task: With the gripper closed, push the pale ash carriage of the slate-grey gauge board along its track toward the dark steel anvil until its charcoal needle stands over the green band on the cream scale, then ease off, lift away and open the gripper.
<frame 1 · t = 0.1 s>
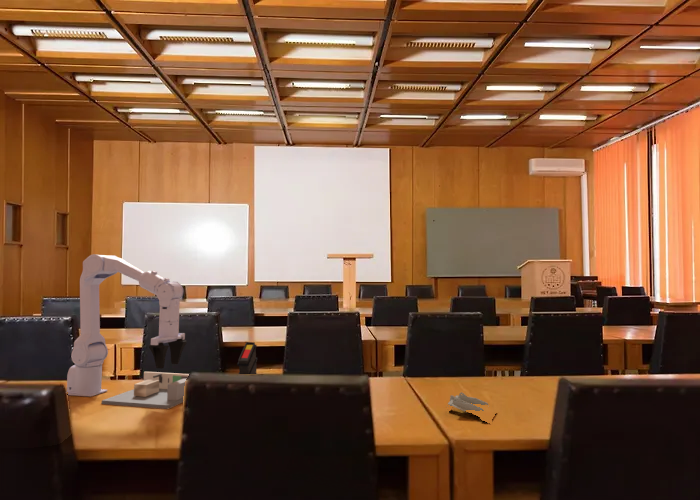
hand: (167, 366, 155), 10 cm above the table, fingers open, 7 cm apart
gauge board: (150, 397, 156), on the table
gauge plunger: (150, 384, 158), point 4 cm above the table, slide at 0.0 cm
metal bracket: (471, 416, 143), on the table
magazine: (247, 389, 171), on the table
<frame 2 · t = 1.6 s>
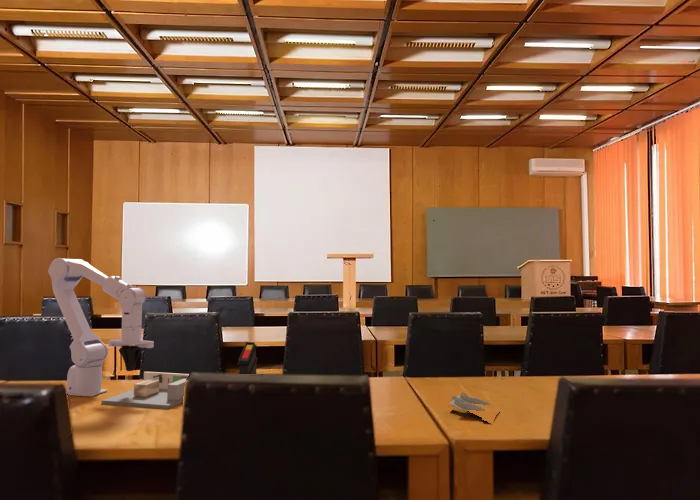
hand: (130, 370, 158), 8 cm above the table, fingers closed
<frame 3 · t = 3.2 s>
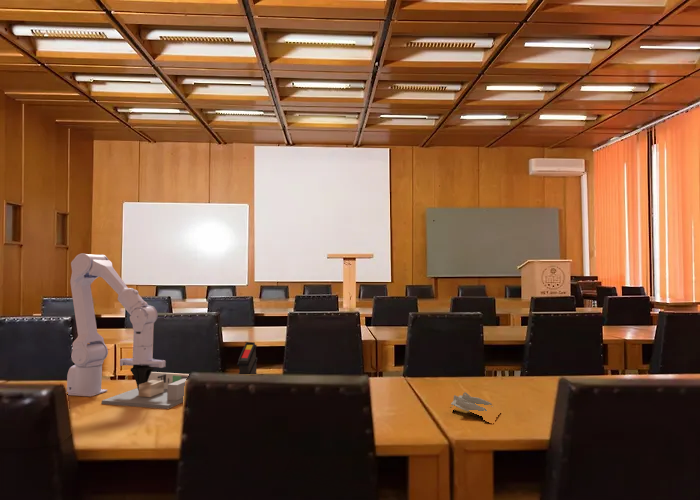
hand: (141, 389, 157), 2 cm above the table, fingers closed
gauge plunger: (155, 385, 158), point 4 cm above the table, slide at 1.6 cm, touching gripper
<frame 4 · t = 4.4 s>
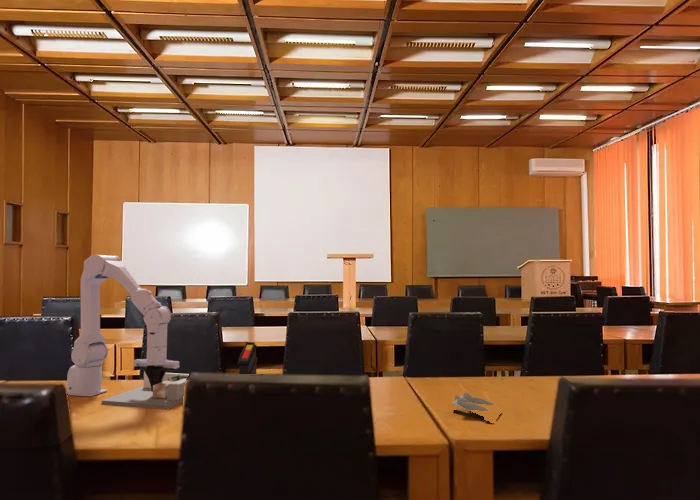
hand: (155, 390, 156), 2 cm above the table, fingers closed
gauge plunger: (169, 385, 157), point 4 cm above the table, slide at 6.3 cm, touching gripper
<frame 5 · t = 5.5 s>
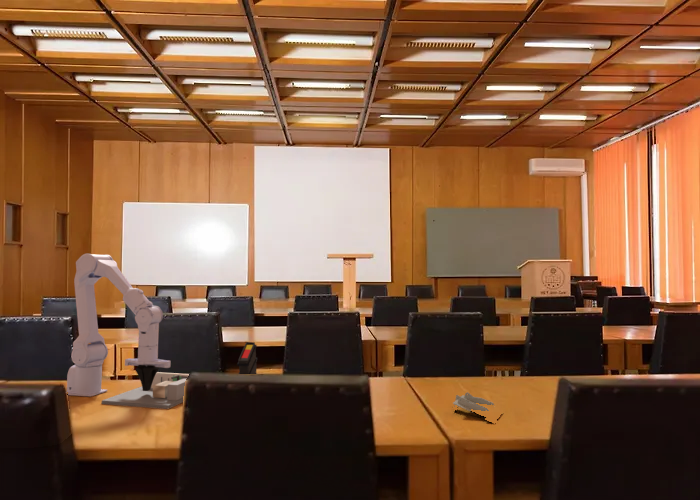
hand: (146, 390, 156), 2 cm above the table, fingers closed
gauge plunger: (169, 385, 157), point 4 cm above the table, slide at 6.3 cm
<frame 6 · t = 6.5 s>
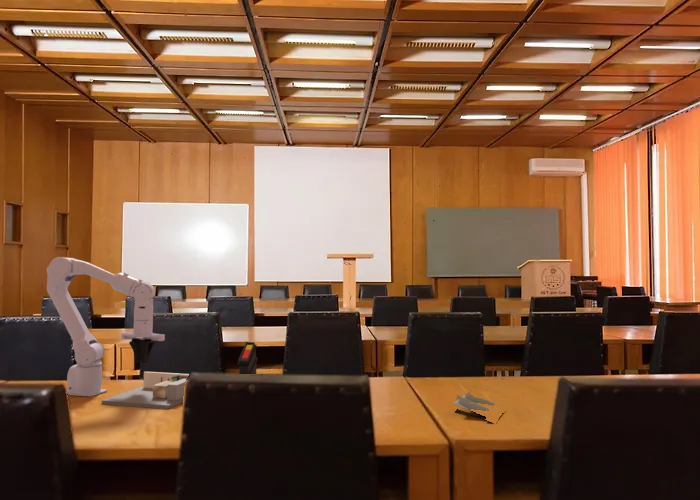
hand: (141, 362, 164), 9 cm above the table, fingers closed
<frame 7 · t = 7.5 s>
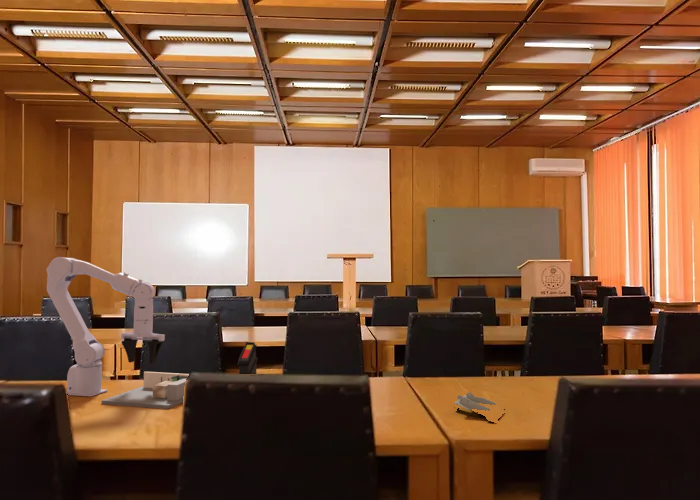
hand: (141, 362, 164), 9 cm above the table, fingers open, 7 cm apart
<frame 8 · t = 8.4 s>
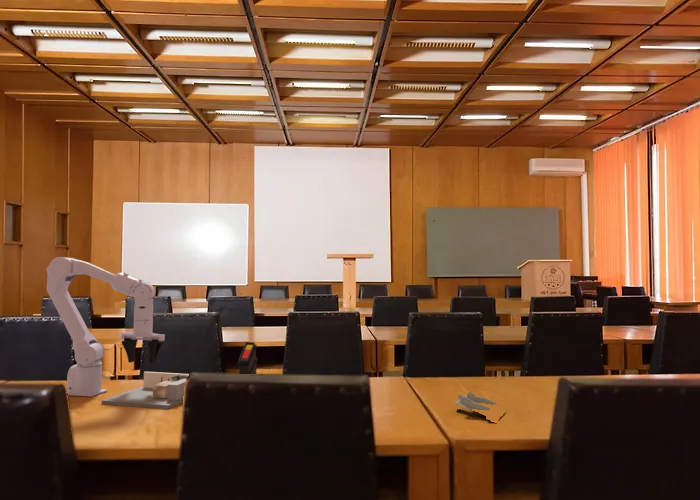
hand: (141, 362, 164), 9 cm above the table, fingers open, 7 cm apart
at the end: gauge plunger slide at 6.3 cm; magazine moved 0.3 cm from its start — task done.
